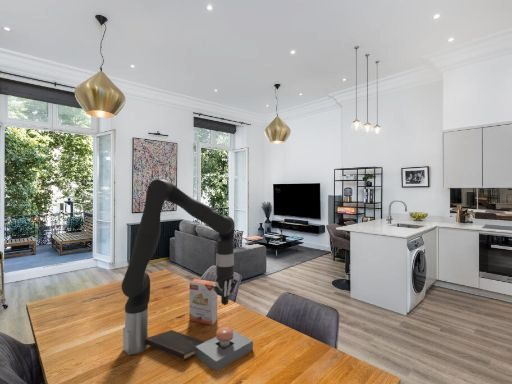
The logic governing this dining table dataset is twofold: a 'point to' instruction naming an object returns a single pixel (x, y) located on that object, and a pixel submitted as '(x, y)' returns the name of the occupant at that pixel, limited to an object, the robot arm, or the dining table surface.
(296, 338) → the dining table surface
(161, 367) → the dining table surface
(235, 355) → the mount
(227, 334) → the knob
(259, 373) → the dining table surface
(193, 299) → the cracker box
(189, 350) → the hardcover book
